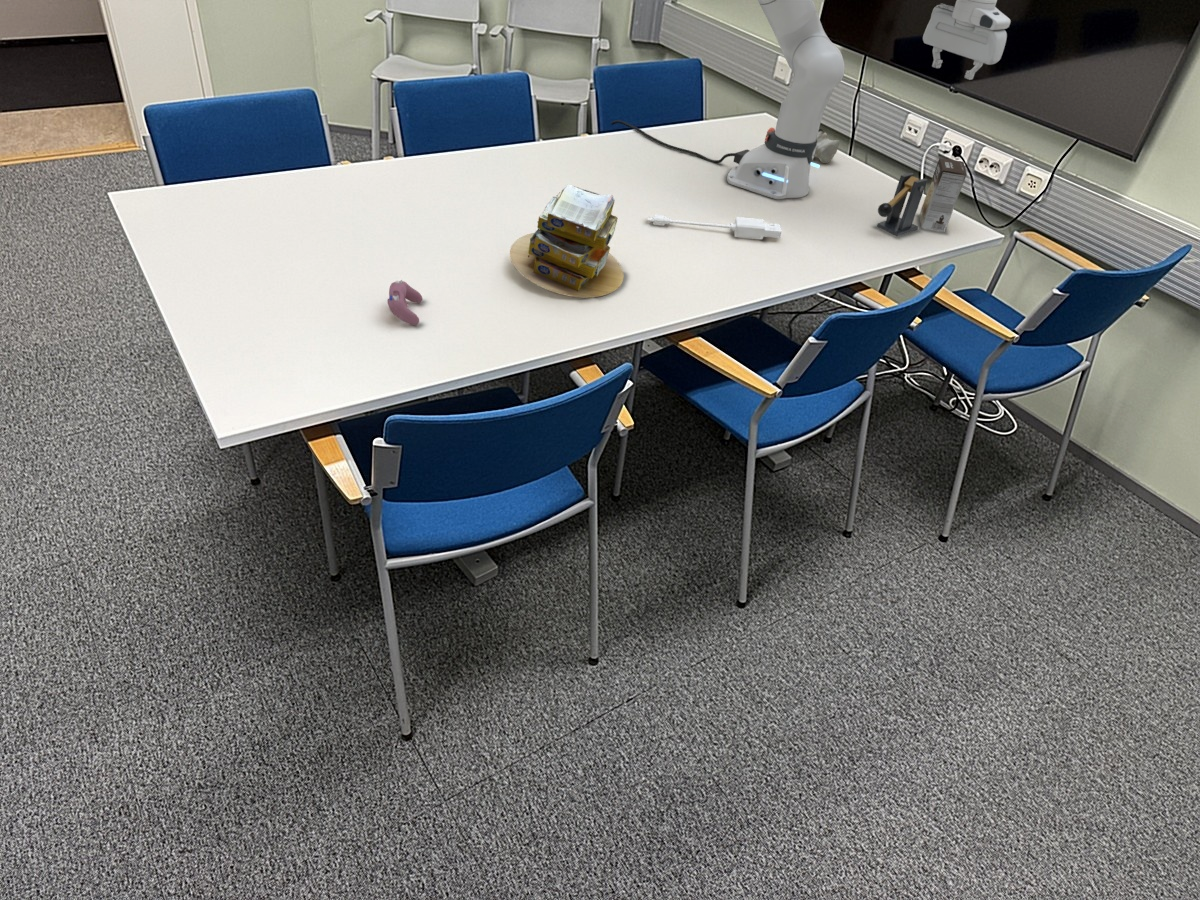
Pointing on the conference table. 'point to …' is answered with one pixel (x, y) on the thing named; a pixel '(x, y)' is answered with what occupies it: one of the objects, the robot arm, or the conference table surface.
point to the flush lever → (896, 198)
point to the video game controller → (403, 301)
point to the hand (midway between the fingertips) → (951, 73)
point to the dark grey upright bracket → (904, 224)
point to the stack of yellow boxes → (571, 246)
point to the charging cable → (733, 226)
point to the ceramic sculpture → (825, 147)
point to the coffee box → (942, 194)
